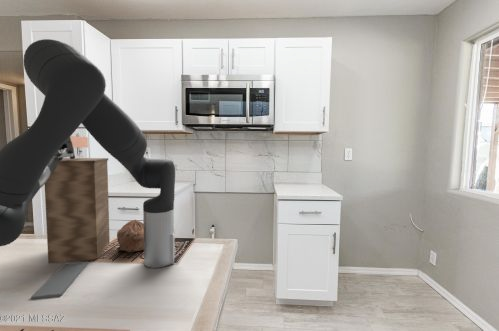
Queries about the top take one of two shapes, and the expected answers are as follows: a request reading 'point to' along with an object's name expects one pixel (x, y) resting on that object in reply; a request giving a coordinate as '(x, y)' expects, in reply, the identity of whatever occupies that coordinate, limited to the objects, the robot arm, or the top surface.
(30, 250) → the top surface
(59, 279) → the mat
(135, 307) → the top surface
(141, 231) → the decorative rock
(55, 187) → the stand
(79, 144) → the tan wooden bar
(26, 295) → the top surface
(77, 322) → the top surface
